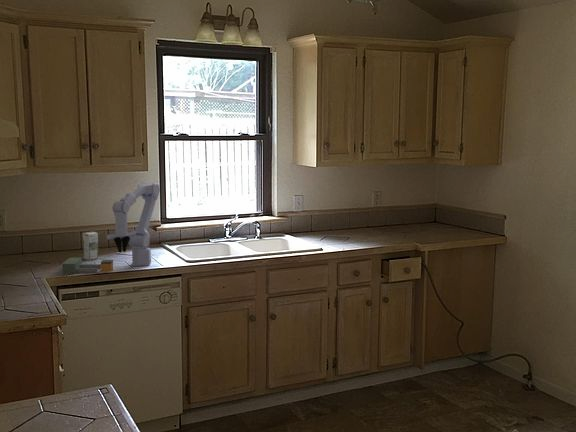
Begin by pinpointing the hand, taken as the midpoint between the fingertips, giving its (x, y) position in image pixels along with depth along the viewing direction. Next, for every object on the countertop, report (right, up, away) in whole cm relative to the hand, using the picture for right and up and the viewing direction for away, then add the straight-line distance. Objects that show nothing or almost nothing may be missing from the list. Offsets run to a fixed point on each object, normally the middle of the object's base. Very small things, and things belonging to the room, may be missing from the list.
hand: (122, 251), depth 306 cm
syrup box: (-24, -6, +26) cm, 36 cm away
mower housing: (-20, -9, 0) cm, 22 cm away
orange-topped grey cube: (-8, -9, +1) cm, 12 cm away
